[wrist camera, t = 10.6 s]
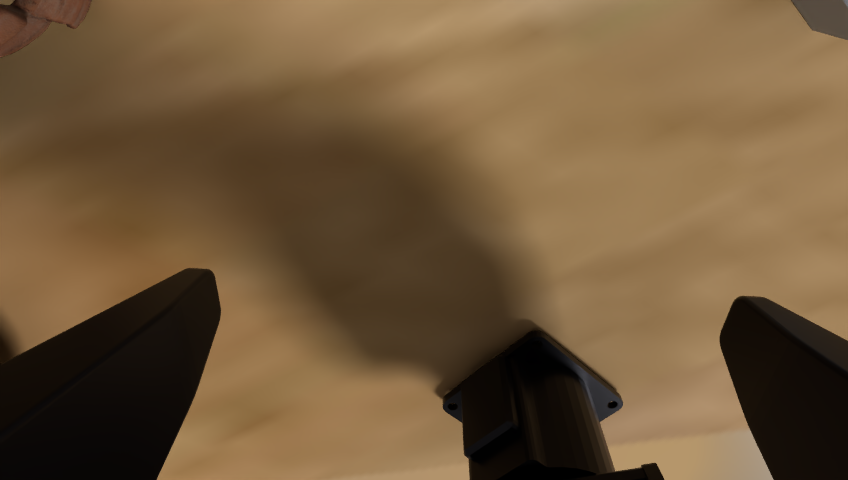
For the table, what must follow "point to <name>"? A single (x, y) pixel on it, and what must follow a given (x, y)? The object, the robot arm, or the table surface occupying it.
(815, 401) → the robot arm
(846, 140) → the table surface
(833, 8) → the socket block
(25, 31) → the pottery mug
